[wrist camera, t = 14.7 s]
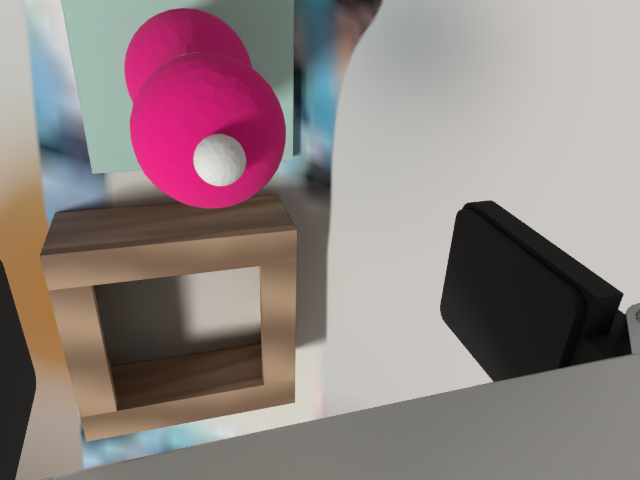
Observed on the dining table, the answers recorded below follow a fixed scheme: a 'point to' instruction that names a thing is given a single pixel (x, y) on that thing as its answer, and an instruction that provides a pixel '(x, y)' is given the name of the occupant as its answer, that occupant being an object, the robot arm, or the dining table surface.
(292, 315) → the box
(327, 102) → the dining table surface
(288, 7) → the green mat
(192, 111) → the pepper mill
